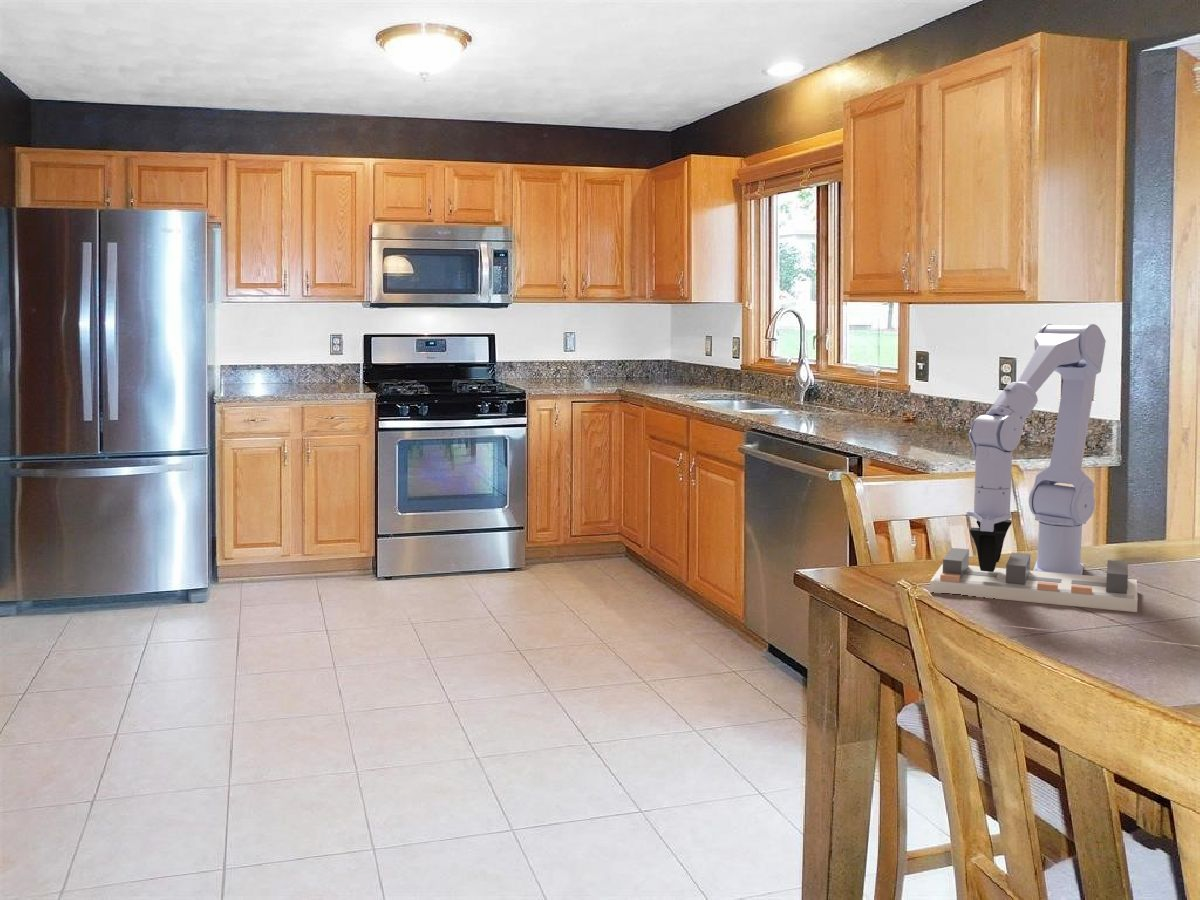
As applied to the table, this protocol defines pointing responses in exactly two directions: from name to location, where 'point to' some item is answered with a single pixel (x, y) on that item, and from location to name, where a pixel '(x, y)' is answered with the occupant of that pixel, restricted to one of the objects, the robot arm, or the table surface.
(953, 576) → the switch panel
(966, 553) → the slider
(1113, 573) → the slider
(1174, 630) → the table surface
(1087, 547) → the table surface
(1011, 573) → the slider middle
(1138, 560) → the table surface
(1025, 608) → the table surface
